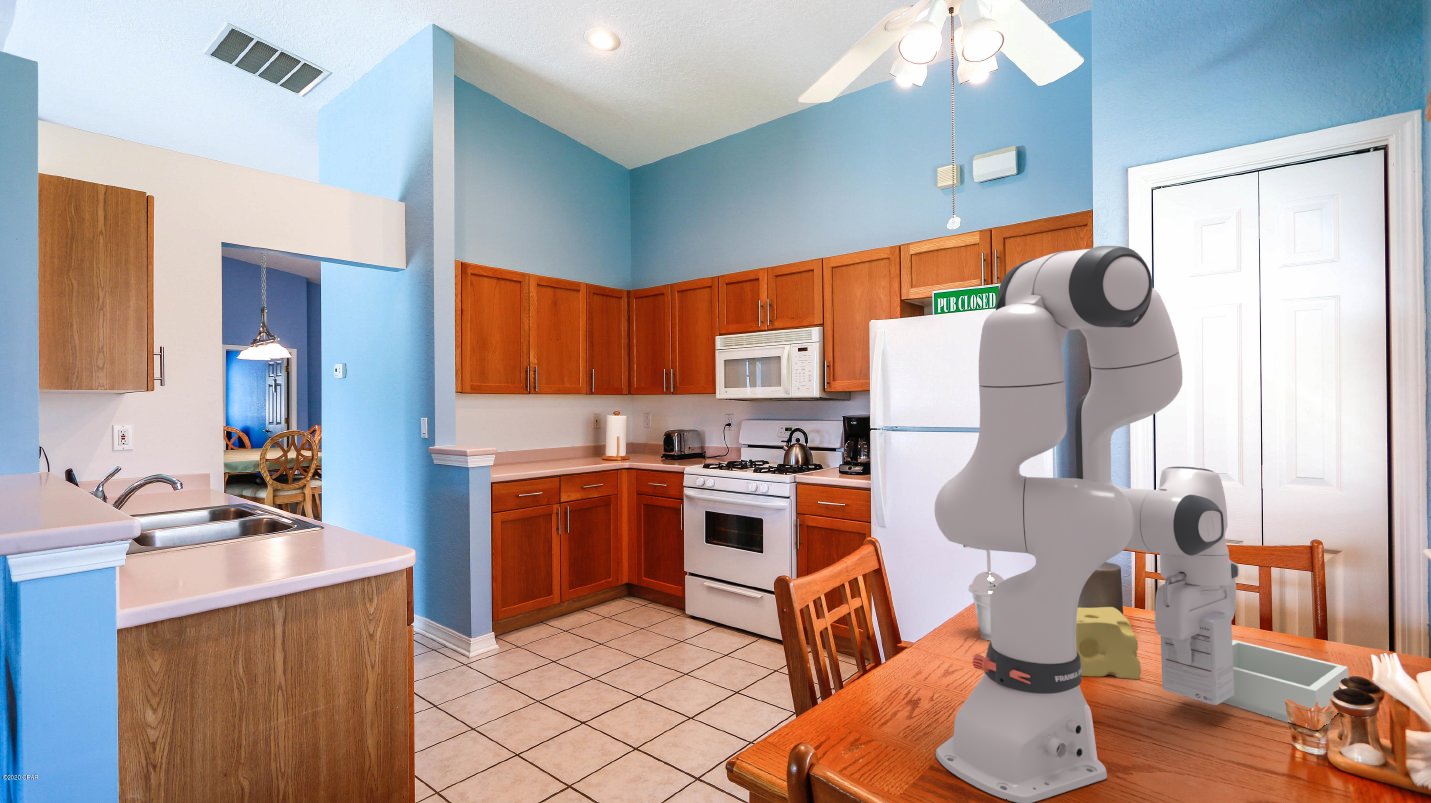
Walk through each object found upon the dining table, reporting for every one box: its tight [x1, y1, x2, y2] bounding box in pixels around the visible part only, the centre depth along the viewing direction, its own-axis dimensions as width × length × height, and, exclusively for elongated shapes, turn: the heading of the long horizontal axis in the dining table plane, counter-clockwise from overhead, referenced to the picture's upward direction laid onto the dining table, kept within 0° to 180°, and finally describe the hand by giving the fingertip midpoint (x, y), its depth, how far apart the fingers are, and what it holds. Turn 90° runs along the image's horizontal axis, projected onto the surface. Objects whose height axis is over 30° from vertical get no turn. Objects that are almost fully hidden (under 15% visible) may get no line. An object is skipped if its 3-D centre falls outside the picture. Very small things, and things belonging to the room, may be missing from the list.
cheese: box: [1076, 607, 1142, 680], centre depth 118 cm, size 10×11×10 cm
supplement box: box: [1160, 612, 1234, 706], centre depth 100 cm, size 7×7×13 cm
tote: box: [1222, 639, 1349, 724], centre depth 103 cm, size 15×15×6 cm
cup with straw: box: [962, 545, 1005, 642], centre depth 135 cm, size 8×9×20 cm
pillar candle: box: [1078, 561, 1124, 615], centre depth 139 cm, size 10×10×15 cm
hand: (1197, 657), depth 99 cm, fingers closed on supplement box, 7 cm apart
